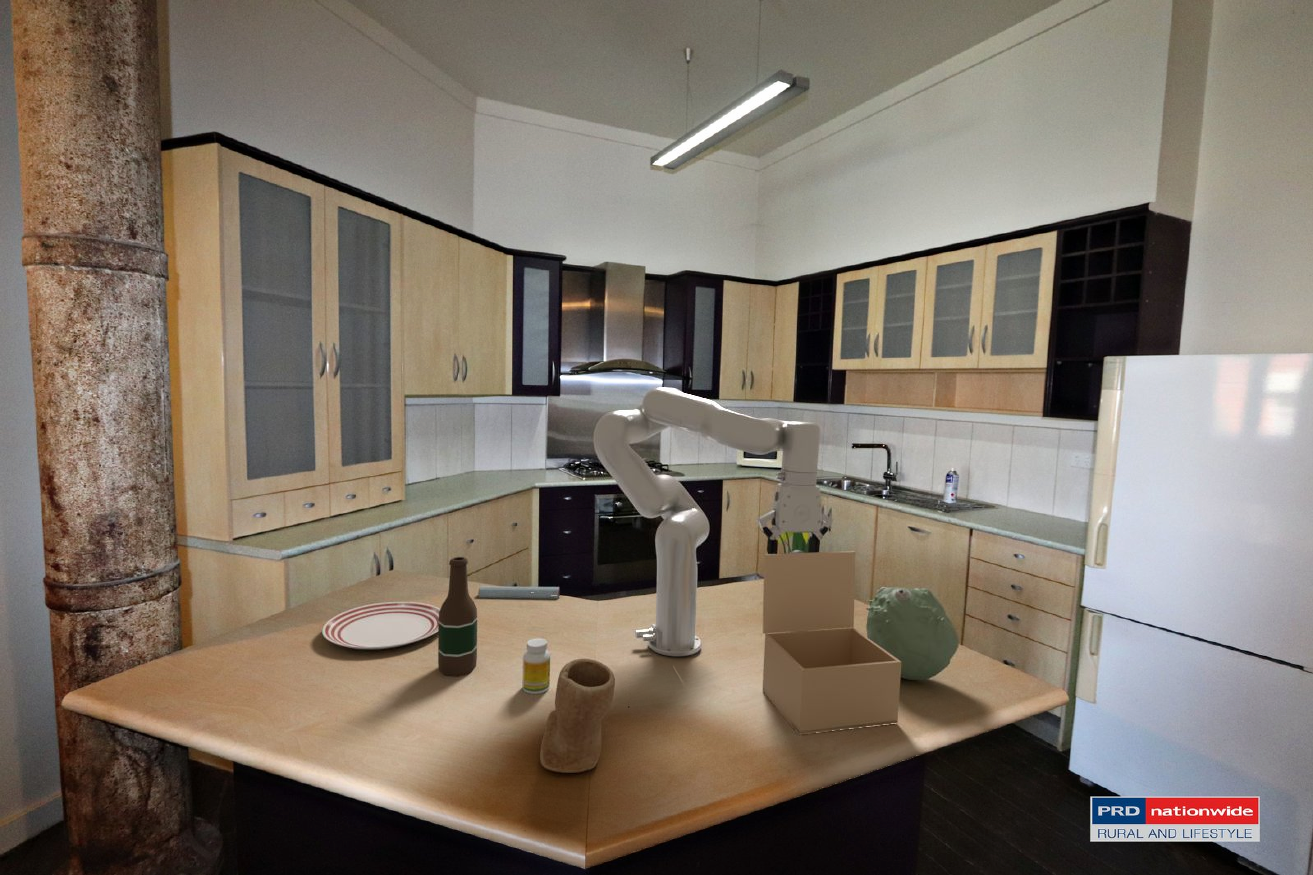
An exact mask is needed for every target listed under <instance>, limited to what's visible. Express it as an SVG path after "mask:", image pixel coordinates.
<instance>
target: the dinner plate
mask: <svg viewBox="0 0 1313 875" xmlns="http://www.w3.org/2000/svg"><path fill="white" fill-rule="evenodd" d="M440 609H441V607H437V606H436V605H432V604H428V603H425V602H424V603H423V602H415V601H390V602H389V601H387V602H379V603H378V602H377V603H372V604H366V605H362V606H357V607H354V608H351V609H348V610H345V611H343V612H341V613H339V614H337V615H335V616H334V617H331V618H330V619H328V620H327V622H325V624H323V627H322V629H321V635H322V636H323V637H324V638H325V639H326V640H327V641H329V642H330V643H332V644H335V645H338V646H341V647H345V648H349V649H355V650H383V649H391V648H397V647H401V646H405V645H410V644H412V643H416V642H419V641H422V640H424V639H427V638H429V637H431V636H433V635H434V634H437V633H438V620H439V612H440Z"/></svg>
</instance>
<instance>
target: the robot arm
mask: <svg viewBox="0 0 1313 875" xmlns="http://www.w3.org/2000/svg"><path fill="white" fill-rule="evenodd" d="M668 428H673V429H676V430H679V431H683V432H686V433H690V434H693V435H696V436H699V437H702V438H704V439H707V440H710V441H712V442H715V443H717V444H721V445H722V446H726V447H729V448H732V449H736V450H739V451H742V452H746V453H748V454H752V455H757V456H758V455H767V454H769V453H772V452H782V459H781V469H780V471H779V472H776V473H775V476H774V477H775V479H776V480H779V482H780V483H777V484H776V485H777V486H776V488H775V493H774V496H773V502H772V507H771V511H769V512H767V513H764V514H763V515H761V516H759V517H757V523H758V525H759V527H760V530H761V532H763V534H764V535H765V537H767V543H766V552H767V554H778V549H779V543H778V540H779V539H777V538H778V537H779V534H780V535H781V533H784V532H786V533H808V532H809V534H811V535H810V536H808V539H809V548H808V553H816V552H820V548H821V547H820V545H821V540H823V538H824V536H825V535H826V534H827V532H829V528H830V526H831V525H832V523H833V521H834V520H833V519H832V518H831V517H829V516H828V515H826V514H824V513H822V510H823V507H822V502H821V499H822V496H821V495H822V494H821V488H820V486H819V485H817V480H818V479H817V478H818V466H819V465H818V464H819V452H820V438H821V428H820V426H819V424H818V423H815V422H811V421H799V420H798V421H796V420H795V421H794V420H793V421H787V420H786V421H785V420H781V419H777V418H772V417H771V418H770V417H767V418H766V417H765V418H758V417H754V416H749V415H746V414H742V413H738V412H735V411H732V410H729V409H726V408H724V407H722V406H720V404H718V403H717V402H716V401H714V400H711V399H707V398H703V397H700V396H696V395H692V394H688V393H684V392H683V391H682V390H680V389H678V388H676V387H675V388H674V387H666V386H665V387H663V386H662V387H661V386H660V387H654V388H652V389H650V390H649V391H647V392H646V393H645V395H644V397H643V400H642V404H640V405H639V406H636V407H635V408H633V409H617V410H612V411H609V412H607V413H605V414H604V415H602V416H601V418H600V419H599V420H598V422H597V423H596V424H595V428H594V432H593V448H594V451H595V454H596V456H597V458H598V460H599V461H600V463H601V465H602V466H603V467H604V469H605V470H606V471H607V472H608V473H609V475H610V476H611V477H612V478H613V480H614V481H615V482H616V484H617V486H618V487H619V488H620V490H621V491H622V492H623V493H624V495H625V496H626V498H627V499H628V500H629V501H630V503H631V504H632V505H633V507H634V508H635V510H637V512H638V513H639V514H640V515H641V516H642V517H644V518H647V519H654V518H658V517H661V518H662V519H663V520H662V521H661V523H660V524H659V525H658V527H657V529H656V533H655V537H654V538H655V539H654V542H655V543H654V544H655V554H656V597H655V598H656V601H655V623H652V624H651V627H648V628H647V629H643V628H642V629H635V633H634V634H635V639H642V641H643V642H647V643H648V647H649V648H650V650H652V651H653V652H655V653H656V654H660V655H664V656H669V657H686V656H687V657H688V656H690V655H694V654H696V653H698V652H699V651H700V650H701V647H702V640H701V639H700V637H698V636H697V635H696V622H697V621H696V620H697V619H696V618H697V617H696V616H697V614H696V613H697V596H698V594H697V593H698V592H697V591H698V562H697V548H698V547H699V546H701V545H702V543H704V542H705V541H706V539H708V536H709V533H710V522H709V519H708V517H707V516H706V514H705V512H704V511H703V510H702V509H701V507H700V506H699V505H698V504H697V502H696V501H695V500H694V498H693V497H692V495H690V493H689V492H688V491H687V489H686V488H685V487H684V486H683V485H682V483H681V482H680V481H679V480H677V479H676V478H675V477H673V476H672V475H667V474H655V473H654V472H653V470H652V469H651V468H650V467H649V465H648V464H647V463H646V461H645V460H644V459H643V457H642V456H641V455H639V454H638V453H637V452H636V451H635V450H634V449H633V448H632V447H631V446H630V445H631V444H638V443H641V442H643V441H647V440H648V439H650V438H652V437H653V436H655V435H656V434H659V433H660V432H662V431H665V430H666V429H668ZM768 522H770V524H771V525H770V526H772V527H768V525H767V523H768Z"/></svg>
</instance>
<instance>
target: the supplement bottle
mask: <svg viewBox="0 0 1313 875" xmlns="http://www.w3.org/2000/svg"><path fill="white" fill-rule="evenodd" d="M547 649H548V641H547V639H545V638H542V637H541V638H540V637H538V638H532V639H529V640H528V641H527V642H526V651H525V652H524V653H523V655H522V690H523V691H524V693H526V692H527V694H529V693H530V695H539V694H544V693H545V692H547V691H548V690H549V688H550V686H551V685H550V683H551V682H550V681H551V680H550V677H551V675H550V673H551V653H550V651H549V650H547Z"/></svg>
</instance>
